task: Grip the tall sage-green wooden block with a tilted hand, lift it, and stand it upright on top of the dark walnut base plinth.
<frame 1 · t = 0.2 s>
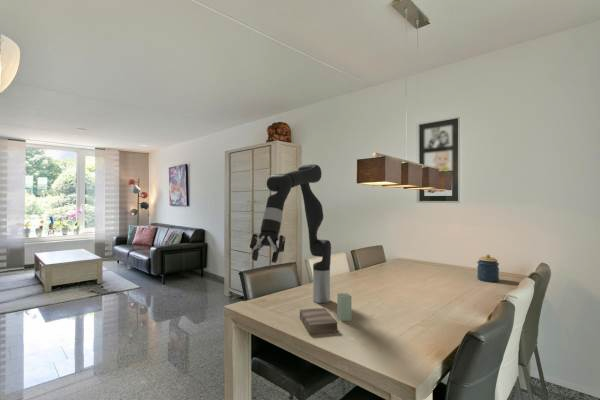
hand: (263, 261, 118), 31 cm above the table, tool tilted 20°, fingers open, 8 cm apart
sage block: (344, 318, 142), on the table
walnut base: (317, 324, 136), on the table
canister: (488, 280, 213), on the table
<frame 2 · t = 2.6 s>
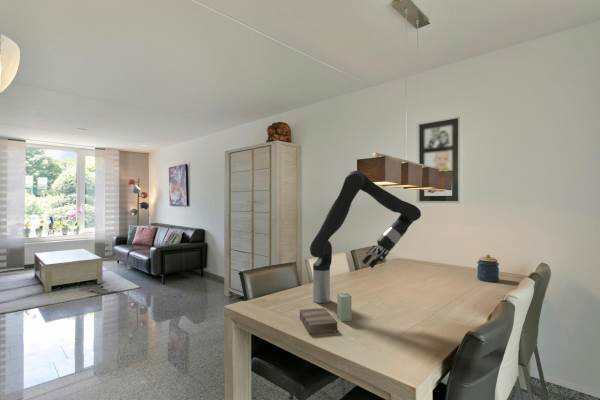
hand: (366, 264, 144), 25 cm above the table, tool tilted 45°, fingers open, 8 cm apart
nothing on the table moved.
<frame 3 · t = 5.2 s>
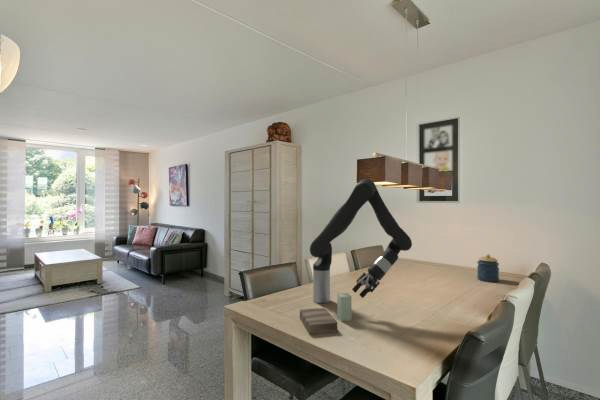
hand: (357, 293, 144), 11 cm above the table, tool tilted 45°, fingers open, 8 cm apart
nothing on the table moved.
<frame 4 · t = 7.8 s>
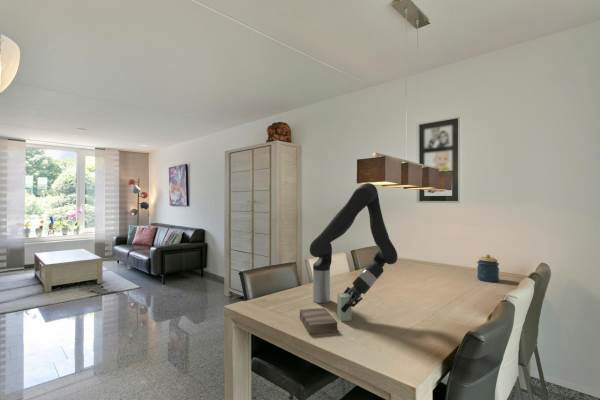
hand: (340, 308, 142), 5 cm above the table, tool tilted 45°, fingers closed on sage block, 5 cm apart
sage block: (344, 318, 142), on the table, touching gripper
everything else where it was.
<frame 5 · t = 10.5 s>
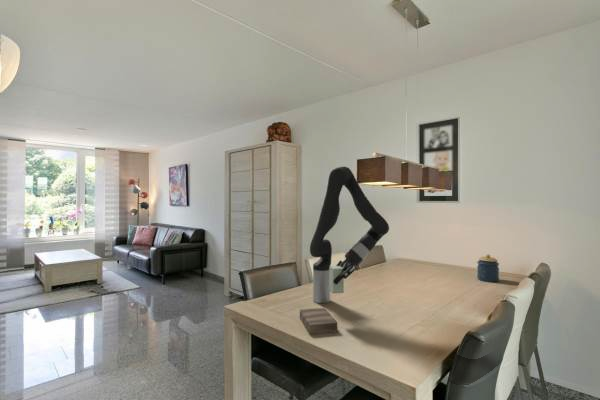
hand: (332, 281, 140), 18 cm above the table, tool tilted 45°, fingers closed on sage block, 5 cm apart
sage block: (336, 291, 140), point 13 cm above the table, touching gripper
everything else where it was.
when the fingers open (11 cm above the table, at t = 13.3 s): sage block drops 2 cm, resting on walnut base.
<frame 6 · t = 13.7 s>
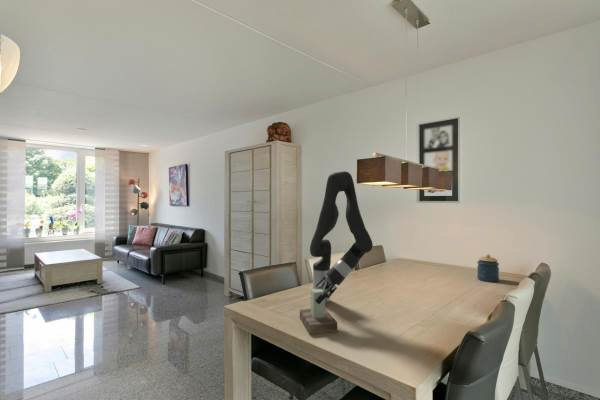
hand: (314, 299, 135), 11 cm above the table, tool tilted 45°, fingers open, 8 cm apart
sage block: (317, 315, 136), point 4 cm above the table, touching walnut base
everything else where it was.
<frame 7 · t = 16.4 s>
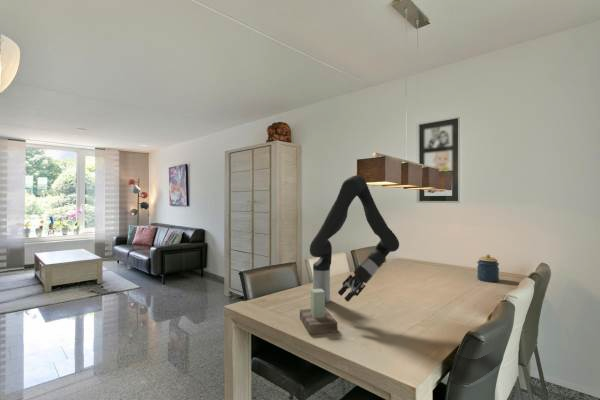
hand: (342, 297, 138), 11 cm above the table, tool tilted 45°, fingers open, 8 cm apart
nothing on the table moved.
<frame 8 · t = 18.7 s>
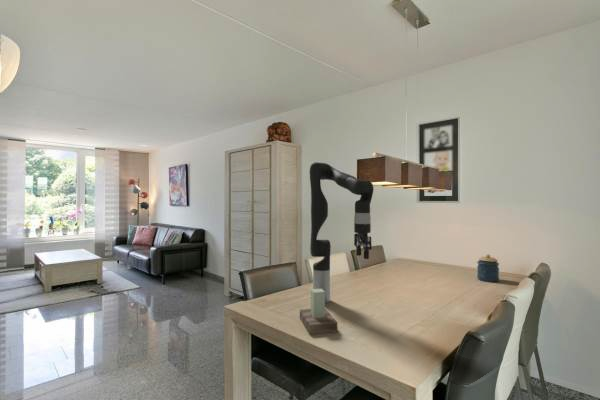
hand: (362, 257, 145), 28 cm above the table, tool pointing down, fingers open, 8 cm apart
nothing on the table moved.
at the end: sage block inside the target area on the walnut base (0.1 cm from its centre), point 4.0 cm above the walnut base's base; sage block tilted 0°; sage block touching walnut base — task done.
